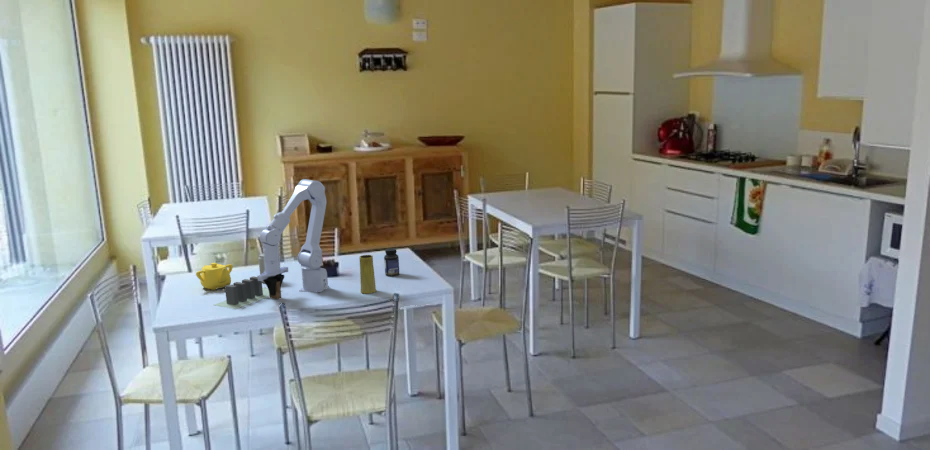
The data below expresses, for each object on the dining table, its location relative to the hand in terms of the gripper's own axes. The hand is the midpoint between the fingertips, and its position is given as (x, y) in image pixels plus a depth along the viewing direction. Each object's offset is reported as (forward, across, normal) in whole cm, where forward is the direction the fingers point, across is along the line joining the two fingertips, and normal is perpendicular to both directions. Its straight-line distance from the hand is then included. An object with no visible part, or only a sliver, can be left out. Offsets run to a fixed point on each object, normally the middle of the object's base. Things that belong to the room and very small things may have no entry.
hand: (275, 294), depth 274 cm
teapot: (+2, -3, -35) cm, 35 cm away
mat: (+2, +4, -10) cm, 11 cm away
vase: (+2, -22, +28) cm, 36 cm away
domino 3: (+1, +4, -10) cm, 11 cm away
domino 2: (+1, +8, -10) cm, 13 cm away
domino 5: (+2, 0, 0) cm, 2 cm away
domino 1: (+1, +12, -10) cm, 16 cm away
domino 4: (+1, 0, -10) cm, 10 cm away
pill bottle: (+2, -46, +23) cm, 51 cm away
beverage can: (+2, -17, -20) cm, 26 cm away
